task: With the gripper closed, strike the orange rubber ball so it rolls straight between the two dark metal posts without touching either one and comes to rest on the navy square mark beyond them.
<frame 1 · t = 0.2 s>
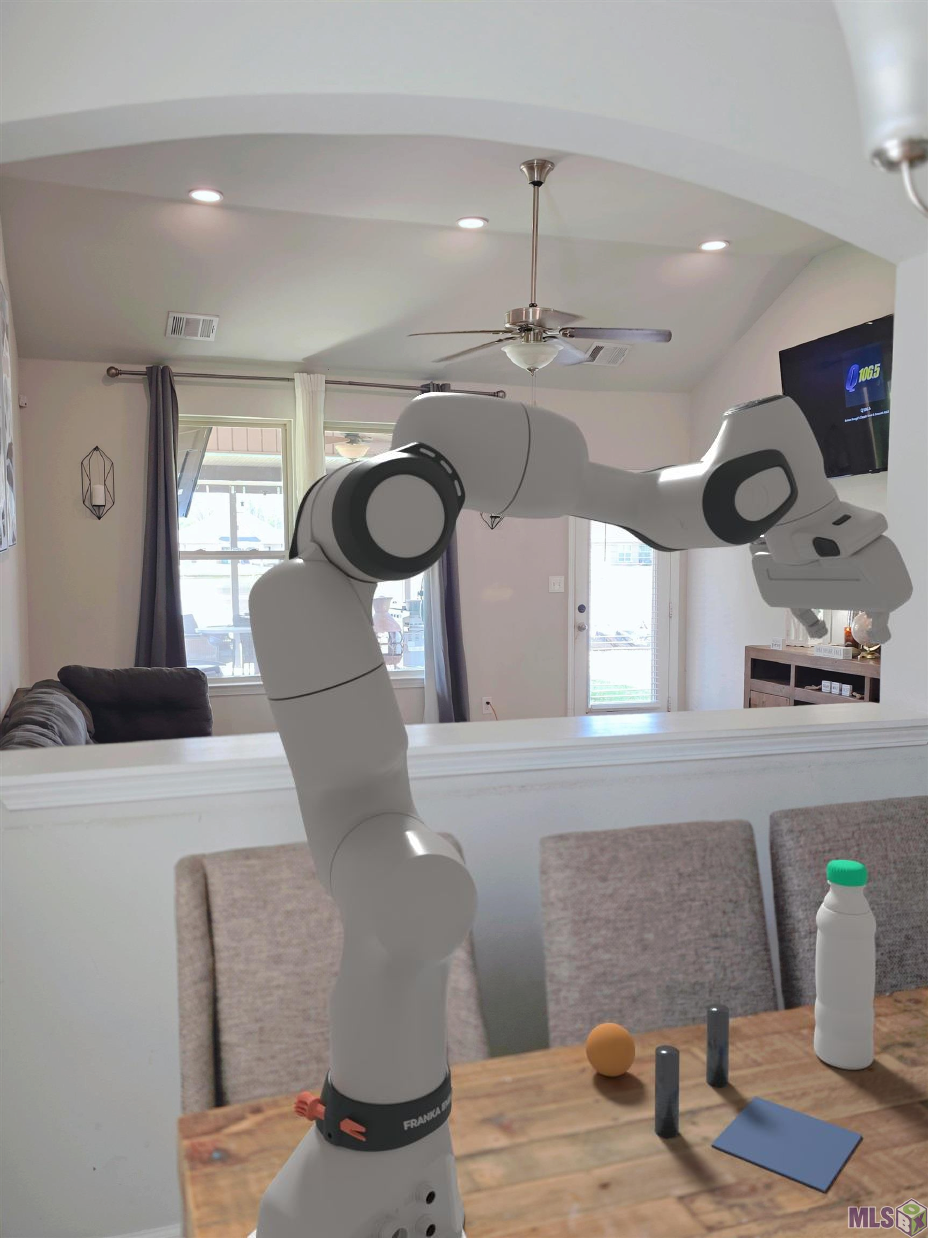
hand: (849, 638, 109), 54 cm above the table, tool tilted 30°, fingers open, 8 cm apart
water bottle: (843, 1059, 120), on the table
far post: (717, 1081, 114), on the table
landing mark: (787, 1141, 102), on the table
ball: (610, 1049, 116), on the table
near post: (666, 1131, 104), on the table
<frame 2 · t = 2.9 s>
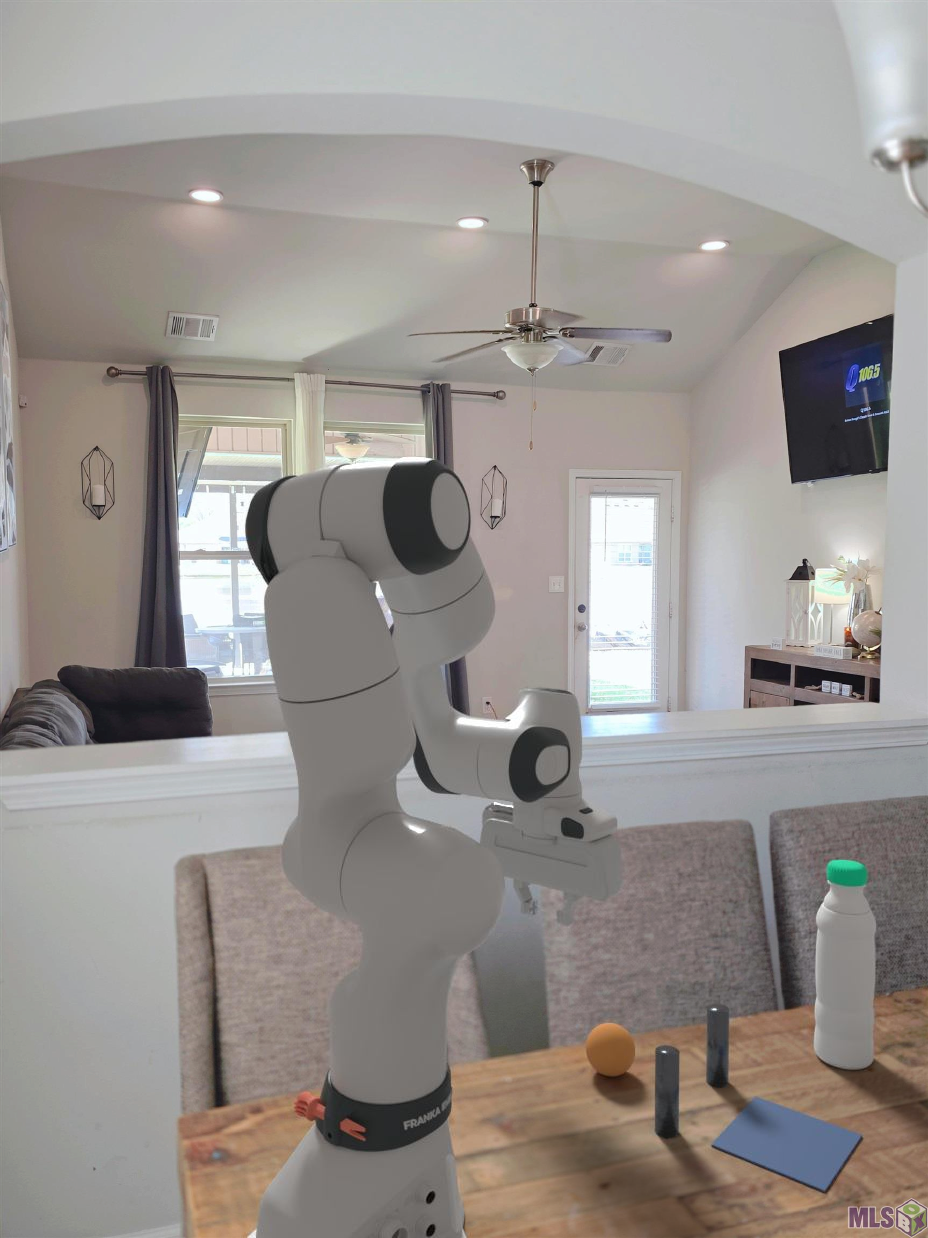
hand: (546, 918, 121), 17 cm above the table, tool pointing down, fingers open, 4 cm apart
nothing on the table moved.
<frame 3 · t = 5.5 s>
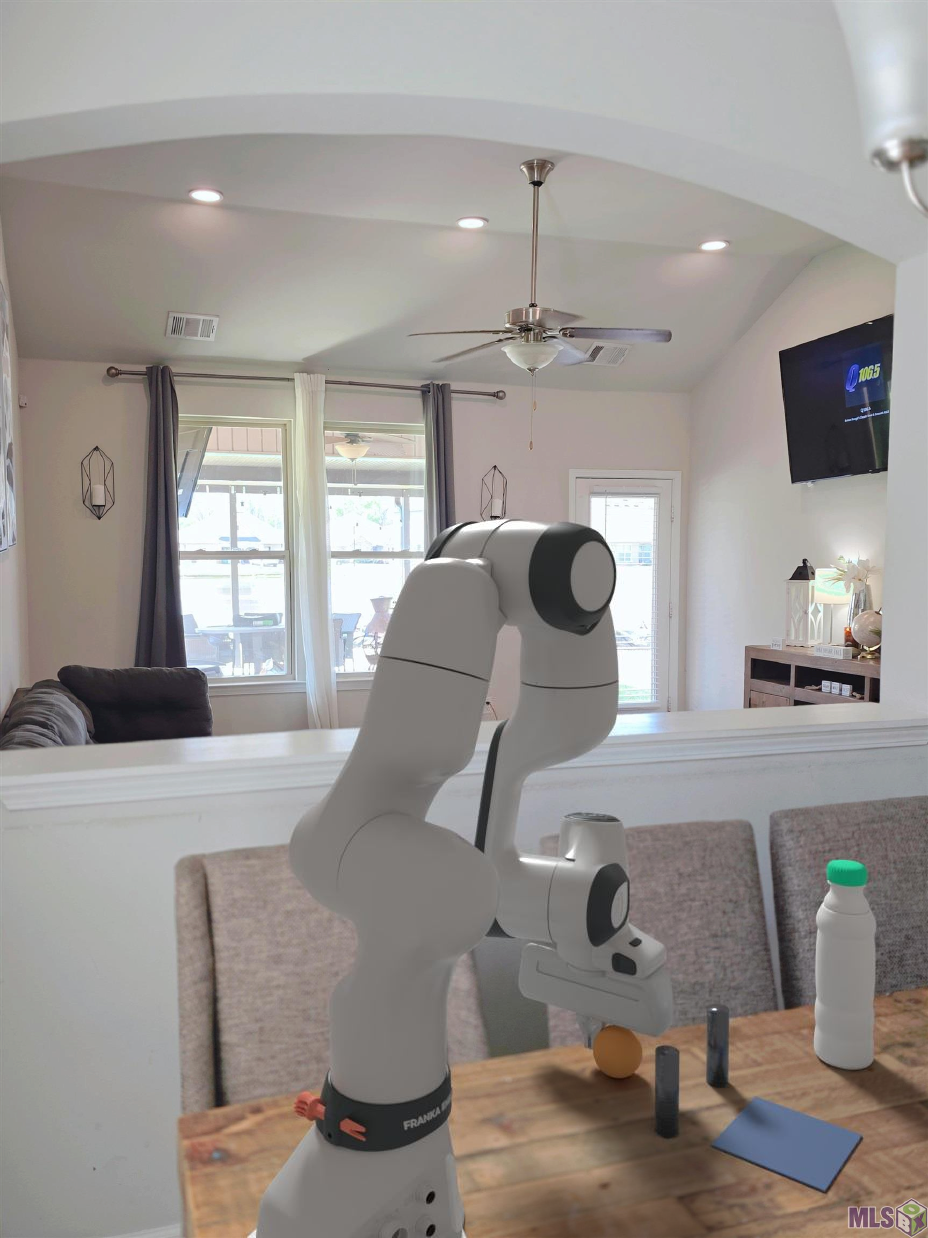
hand: (592, 1047, 118), 2 cm above the table, tool pointing down, fingers closed, pressing on ball
ball: (617, 1051, 115), on the table, touching gripper
everything else where it was.
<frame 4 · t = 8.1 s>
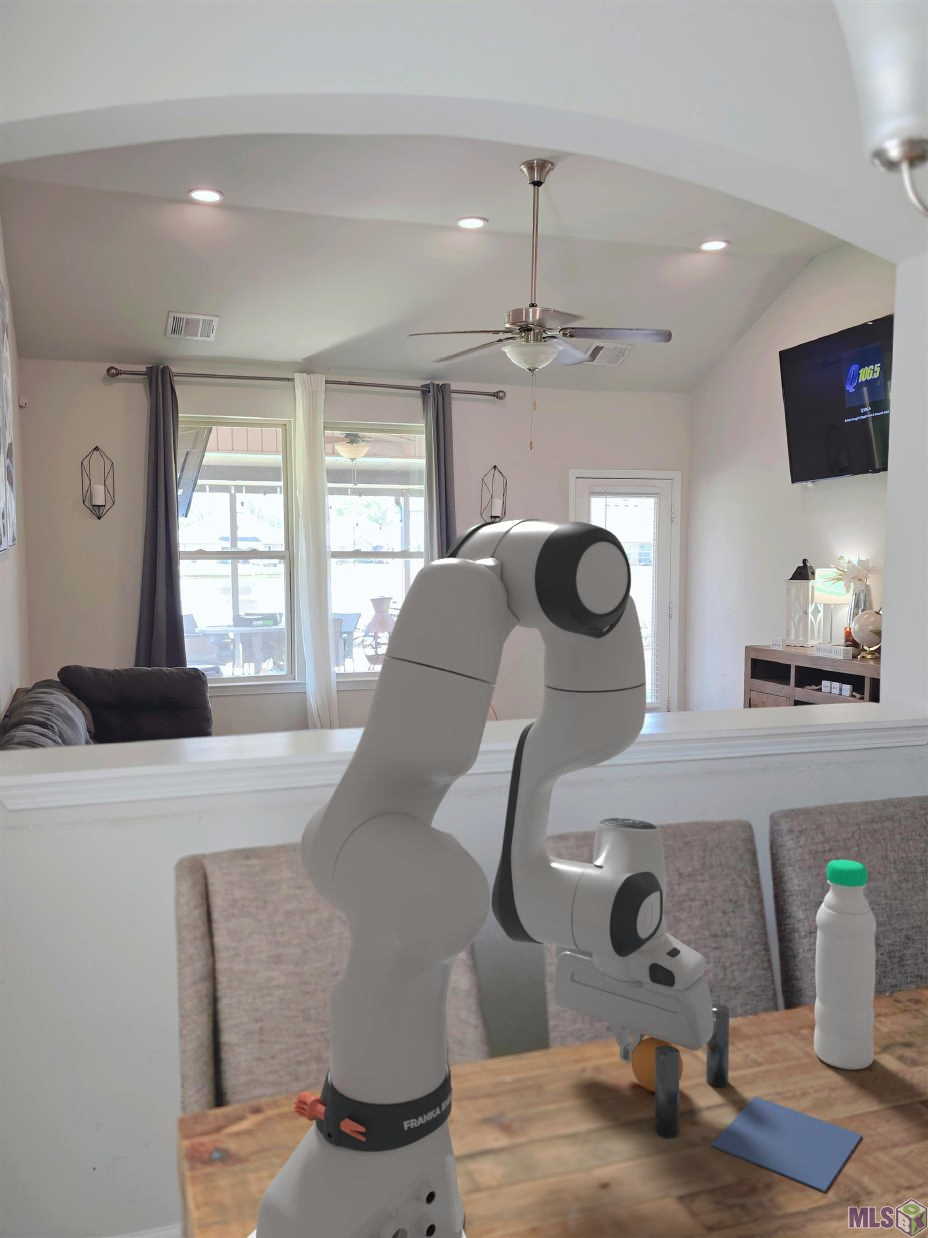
hand: (629, 1059, 115), 2 cm above the table, tool pointing down, fingers closed
ball: (657, 1064, 112), on the table, touching gripper
everything else where it was.
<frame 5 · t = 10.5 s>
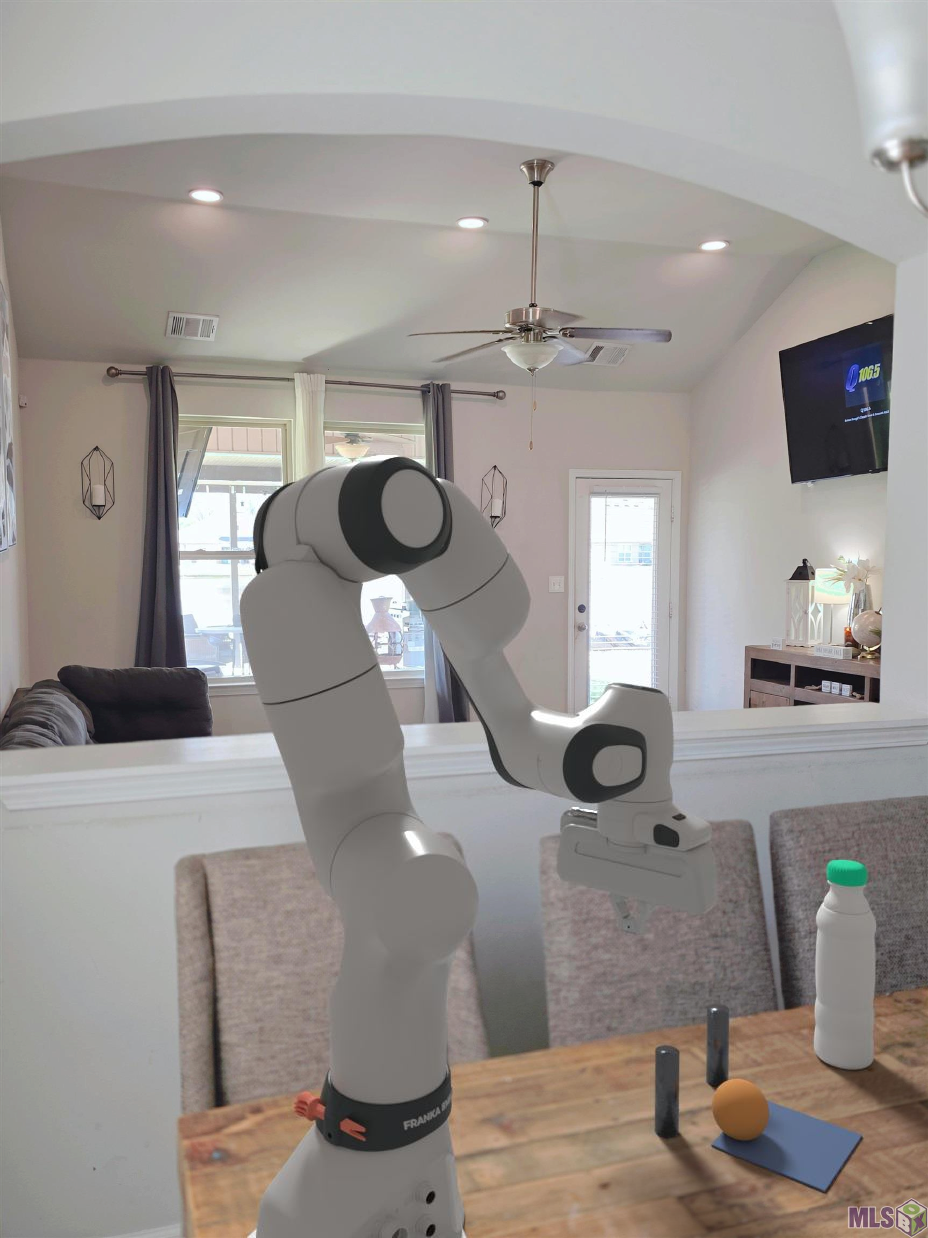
hand: (632, 932, 113), 18 cm above the table, tool pointing down, fingers closed
ball: (740, 1109, 103), on the table
everything else where it was.
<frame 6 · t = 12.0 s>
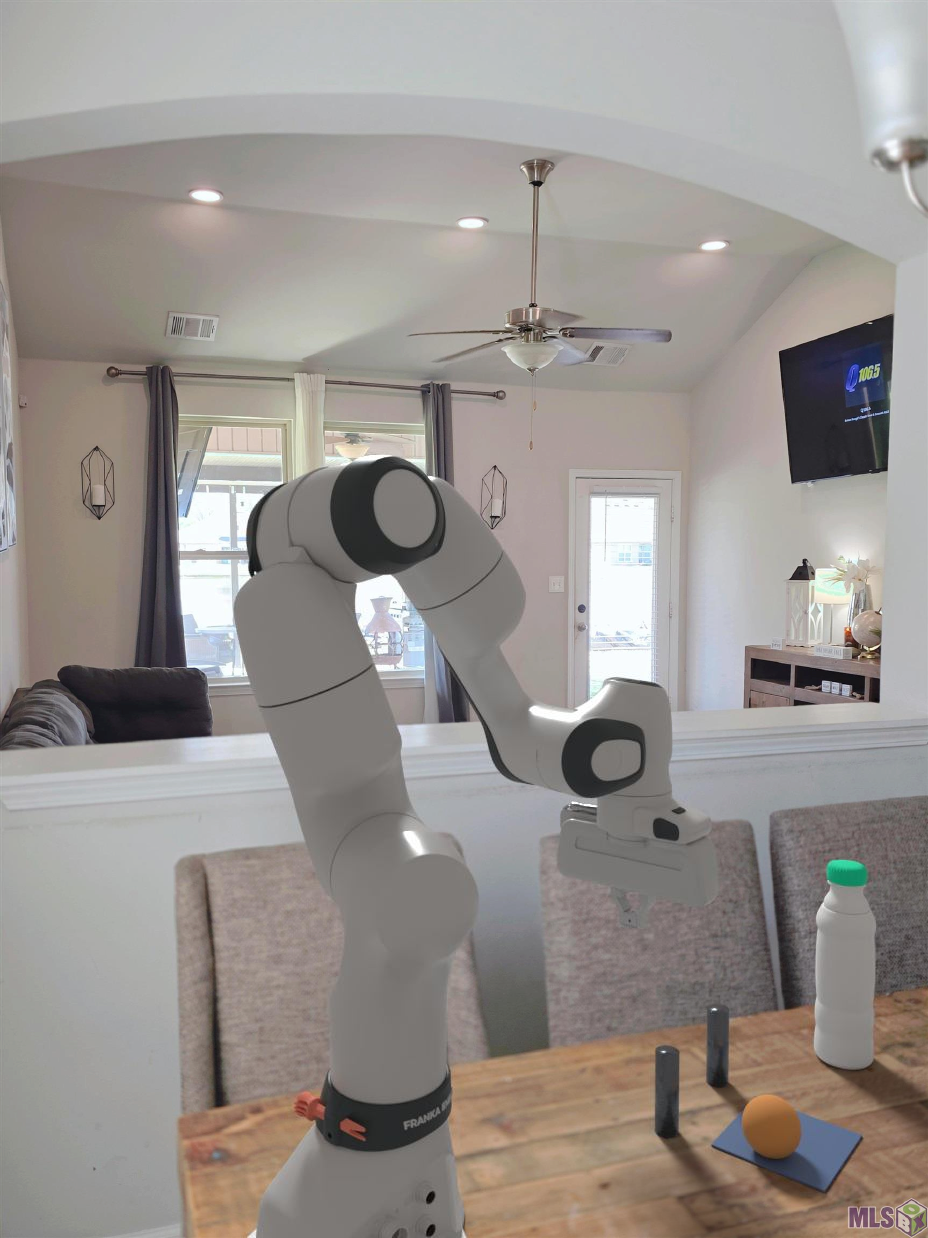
hand: (633, 926, 113), 19 cm above the table, tool pointing down, fingers closed
ball: (771, 1126, 100), on the table
everything else where it was.
at the end: ball 3.3 cm from the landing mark (horizontally); ball never touched near post; ball never touched far post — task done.
